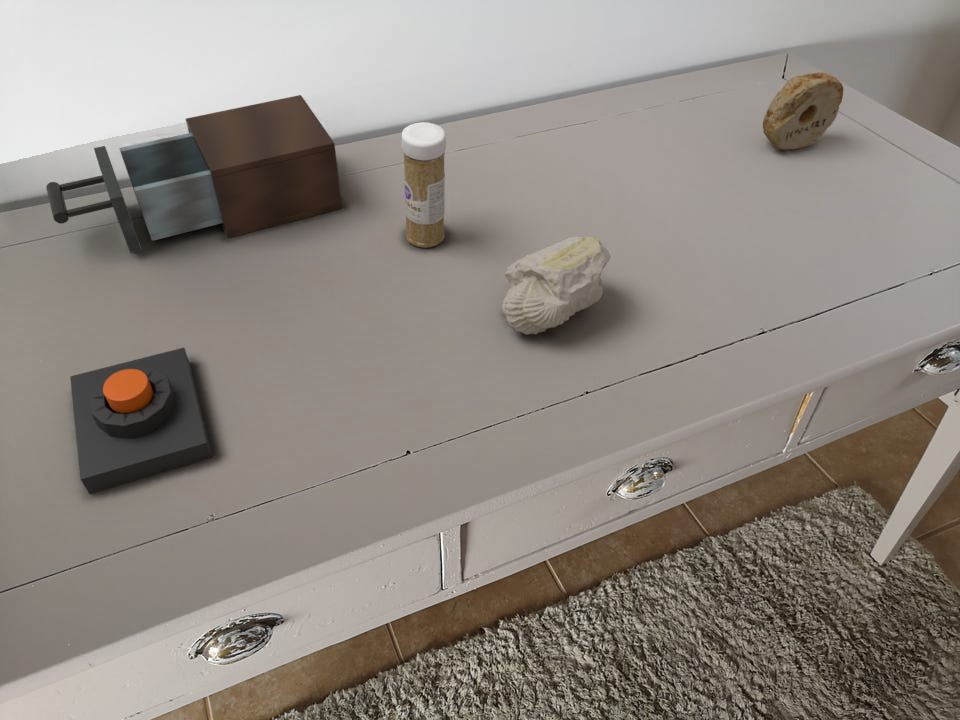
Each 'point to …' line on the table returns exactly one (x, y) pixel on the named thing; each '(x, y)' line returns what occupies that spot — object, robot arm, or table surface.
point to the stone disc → (802, 110)
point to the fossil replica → (554, 284)
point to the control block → (138, 424)
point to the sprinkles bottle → (424, 183)
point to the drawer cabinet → (268, 163)
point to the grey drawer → (151, 189)
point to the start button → (128, 391)
